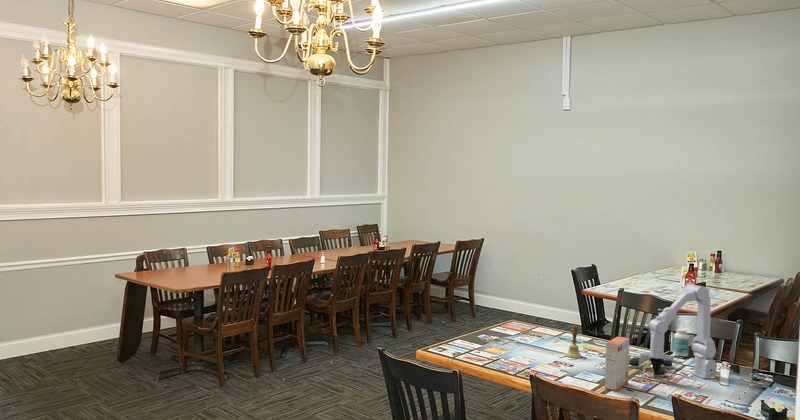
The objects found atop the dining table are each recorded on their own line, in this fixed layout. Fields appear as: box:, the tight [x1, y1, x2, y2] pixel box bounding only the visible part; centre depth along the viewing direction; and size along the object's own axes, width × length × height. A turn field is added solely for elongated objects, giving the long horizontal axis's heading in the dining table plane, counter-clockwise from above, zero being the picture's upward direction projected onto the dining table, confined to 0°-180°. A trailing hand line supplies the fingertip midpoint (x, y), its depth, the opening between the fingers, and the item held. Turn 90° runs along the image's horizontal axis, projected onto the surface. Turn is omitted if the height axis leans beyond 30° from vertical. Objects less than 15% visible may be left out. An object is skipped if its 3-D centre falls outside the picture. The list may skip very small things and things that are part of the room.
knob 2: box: [648, 358, 673, 366], centre depth 314 cm, size 11×5×4 cm, turn 79°
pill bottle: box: [672, 328, 690, 358], centre depth 335 cm, size 8×7×14 cm
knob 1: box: [629, 355, 640, 366], centre depth 315 cm, size 11×5×4 cm, turn 65°
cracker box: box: [604, 336, 630, 392], centre depth 285 cm, size 14×6×21 cm, turn 141°
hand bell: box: [564, 325, 583, 359], centre depth 329 cm, size 8×8×16 cm
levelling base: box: [629, 362, 674, 378], centre depth 309 cm, size 20×21×2 cm
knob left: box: [642, 365, 666, 374], centre depth 300 cm, size 11×5×4 cm, turn 105°
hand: (655, 374), depth 295 cm, fingers closed
